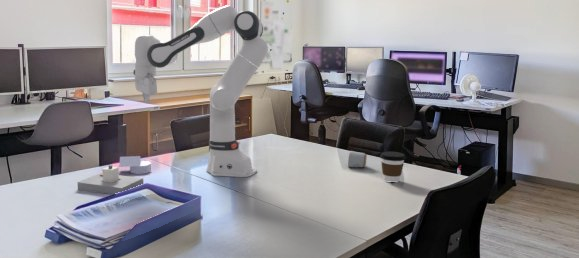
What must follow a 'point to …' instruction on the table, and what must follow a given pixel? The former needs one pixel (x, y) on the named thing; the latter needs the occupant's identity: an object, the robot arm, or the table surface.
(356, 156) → the grey rounded block
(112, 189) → the socket plate
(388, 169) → the coffee cup
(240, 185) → the table surface
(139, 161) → the wedge on round base
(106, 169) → the plug
